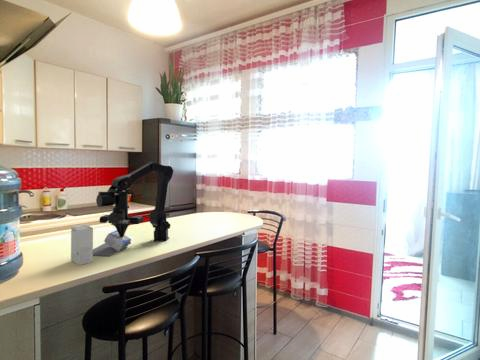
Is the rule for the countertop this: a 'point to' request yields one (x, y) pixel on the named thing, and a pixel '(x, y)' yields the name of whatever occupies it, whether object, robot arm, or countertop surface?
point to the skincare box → (81, 244)
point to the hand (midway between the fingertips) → (121, 237)
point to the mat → (104, 250)
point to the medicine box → (117, 240)
